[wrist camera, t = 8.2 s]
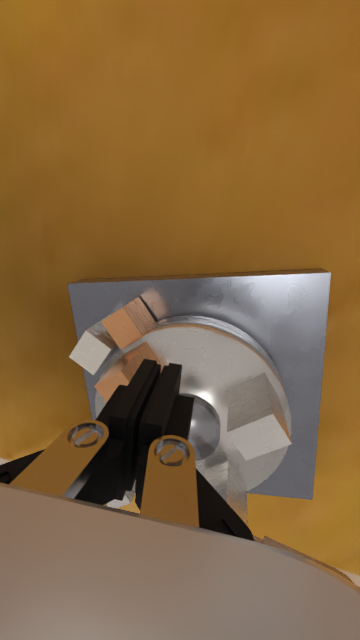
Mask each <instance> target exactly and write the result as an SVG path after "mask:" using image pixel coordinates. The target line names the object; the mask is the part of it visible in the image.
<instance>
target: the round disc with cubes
mask: <svg viewBox="0 0 360 640" xmlns="http://www.w3.org/2000/svg"><path fill="white" fill-rule="evenodd" d="M101 323H102V324H103V325H104V327H105V328H106V330H107V331H108V332H109V334H110V335H111V337H112V338H113V340H114V341H115V342H116V344H117V345H118V347H119V348H120V349H121V350H120V351H119V352H118V353H117V354H116V355H115V356H114V357H113V358H112V359H111V360H110V362H109V363H108V364H107V366H106V367H105V369H104V371H103V373H102V375H101V377H100V380H99V381H98V382H97V383H96V385H95V386H94V387H95V388H96V389H97V391H96V398H95V409H96V418H97V417H98V415H99V414H100V412H101V411H102V409H103V408H104V406H105V405H106V403H107V402H108V400H109V399H110V397H111V396H112V394H113V393H114V391H115V390H116V388H117V387H118V386H119V385H126V386H127V385H128V384H129V382H130V381H131V379H132V377H133V376H134V374H135V372H136V371H137V369H138V368H139V366H140V364H141V363H142V361H143V359H150V360H156V361H157V364H160V365H161V371H162V369H163V367H164V365H166V366H168V365H169V363H175V364H181V365H182V373H181V382H180V390H179V395H183V396H189V397H194V406H193V413H192V420H191V427H190V433H189V439H188V442H189V443H190V444H191V445H192V447H193V448H194V452H195V465H196V468H197V470H198V471H199V472H200V473H201V474H202V475H203V476H204V477H205V479H206V480H207V481H208V482H209V483H210V484H211V485H212V486H213V488H214V489H215V490H216V491H217V492H218V493H219V494H220V495H221V497H222V498H223V499H224V500H225V501H226V502H227V503H228V504H229V506H230V507H231V508H232V509H233V510H234V511H235V512H236V513H237V515H238V516H239V517H240V518H241V519H242V520H243V521H244V522H245V524H246V525H247V527H248V519H247V493H246V492H247V491H249V490H251V489H253V488H254V487H256V486H258V485H259V484H261V483H262V482H263V481H265V480H266V479H267V478H268V477H269V476H270V475H271V474H272V473H273V472H274V471H275V470H276V469H277V467H278V466H279V464H280V463H281V461H282V460H283V458H284V456H285V454H286V451H287V448H288V445H290V444H292V442H291V438H290V436H291V415H290V409H289V405H288V401H287V398H286V395H285V391H284V388H283V385H282V381H281V378H280V376H279V373H278V370H277V368H276V366H275V364H274V362H273V360H272V359H271V358H270V356H269V355H268V353H267V352H266V351H265V350H264V348H263V347H262V346H261V345H260V344H259V343H258V342H257V341H256V340H254V339H253V338H252V337H251V336H249V335H248V334H247V333H245V332H244V331H242V330H240V329H239V328H237V327H235V326H233V325H231V324H229V323H226V322H224V321H220V320H217V319H214V318H209V317H204V316H191V315H187V316H176V317H171V318H166V319H163V320H160V321H157V322H155V320H154V319H153V317H152V316H151V314H150V313H149V311H148V310H147V308H146V307H145V305H144V304H143V302H142V301H141V299H140V298H139V297H137V298H136V299H134V300H133V301H131V302H130V303H128V304H127V305H125V306H124V307H122V308H121V309H119V310H118V311H116V312H115V313H113V314H112V315H110V316H109V317H107V318H106V319H104V320H103V321H101ZM160 374H161V373H160ZM135 483H136V480H135V482H134V485H133V488H132V490H131V491H126V492H125V495H124V498H123V500H122V501H120V500H116V499H114V500H112V501H110V502H108V503H107V506H108V507H112V508H118V507H121V506H123V505H126V504H129V503H131V501H132V498H133V496H134V493H135Z"/></svg>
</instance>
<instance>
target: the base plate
mask: <svg viewBox="0 0 360 640" xmlns="http://www.w3.org/2000/svg"><path fill="white" fill-rule="evenodd" d="M330 277H331V273H330V272H328V271H326V270H323V269H305V270H283V271H260V272H238V273H216V274H193V275H171V276H148V277H126V278H103V279H81V280H78V281H75V282H71V283H68V284H67V285H68V290H69V295H70V301H71V306H72V312H73V317H74V323H75V328H76V333H77V339H78V343H77V345H76V346H75V348H74V350H73V351H72V353H71V354H70V356H69V358H71V359H72V360H73V361H75V362H76V363H78V364H79V365H80V366H82V367H83V371H84V377H85V382H86V388H87V393H88V399H89V404H90V410H91V415H92V420H96V409H95V398H96V391H97V389H96V388H95V387H94V386H95V385H96V383H97V382H98V381H99V380H100V377H101V375H102V373H103V371H104V369H105V367H106V366H107V364H108V363H109V362H110V360H111V359H112V358H113V357H114V356H115V355H116V354H117V353H118V352H119V351H120V350H121V349H120V348H119V347H118V345H117V344H116V342H115V341H114V340H113V338H112V337H111V335H110V334H109V332H108V331H107V330H106V328H105V327H104V325H103V324H102V323H101V321H103V320H104V319H106V318H107V317H109V316H110V315H112V314H113V313H115V312H116V311H118V310H119V309H121V308H122V307H124V306H125V305H127V304H128V303H130V302H131V301H133V300H134V299H136V298H137V297H139V298H140V299H141V301H142V302H143V304H144V305H145V307H146V308H147V310H148V311H149V313H150V314H151V316H152V317H153V319H154V320H155V322H157V321H160V320H163V319H166V318H171V317H176V316H187V315H191V316H204V317H209V318H214V319H217V320H220V321H224V322H226V323H229V324H231V325H233V326H235V327H237V328H239V329H240V330H242V331H244V332H245V333H247V334H248V335H249V336H251V337H252V338H253V339H254V340H256V341H257V342H258V343H259V344H260V345H261V346H262V347H263V348H264V350H265V351H266V352H267V353H268V355H269V356H270V358H271V359H272V360H273V362H274V364H275V366H276V368H277V370H278V373H279V376H280V378H281V381H282V385H283V388H284V391H285V395H286V398H287V401H288V405H289V409H290V415H291V436H290V438H291V442H292V444H290V445H288V448H287V451H286V454H285V456H284V458H283V460H282V461H281V463H280V464H279V466H278V467H277V469H276V470H275V471H274V472H273V473H272V474H271V475H270V476H269V477H268V478H267V479H266V480H265V481H263V482H262V483H261V484H259V485H258V486H256V487H254V488H253V489H251V490H249V491H247V492H246V493H253V494H263V495H272V496H281V497H291V498H300V499H309V500H312V498H313V485H314V473H315V461H316V449H317V436H318V424H319V412H320V400H321V387H322V375H323V363H324V351H325V338H326V326H327V314H328V302H329V289H330Z"/></svg>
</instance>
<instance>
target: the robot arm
mask: <svg viewBox="0 0 360 640" xmlns="http://www.w3.org/2000/svg"><path fill="white" fill-rule="evenodd" d="M160 373H161V374H160ZM181 373H182V365H181V364H175V363H169V365H168V366H166V365H164V367H163V369H162V371H161V365H160V364H157V361H156V360H150V359H143V361H142V363H141V364H140V366H139V368H138V369H137V371H136V372H135V374H134V376H133V377H132V379H131V381H130V382H129V384H128V385H127V386H126V385H119V386H118V387H117V388H116V390H115V391H114V393H113V394H112V396H111V397H110V399H109V400H108V402H107V403H106V405H105V406H104V408H103V409H102V411H101V412H100V414H99V415H98V417H97V418H96V420H83V421H79V422H77V423H74V424H72V425H71V426H70V427H68V428H67V429H66V430H65V431H64V432H63V433H62V434H61V435H60V436H59V437H58V438H57V439H56V440H54V441H53V442H52V443H51V444H50V445H49V446H48V447H47V448H46V449H44V450H41V451H39V452H36V453H33V454H30V455H27V456H25V457H22V458H19V459H16V460H13V461H11V462H8V463H5V464H3V465H0V640H360V587H359V586H357V585H355V584H354V583H353V582H352V581H351V580H350V579H349V578H348V577H347V576H346V575H345V574H343V573H342V572H340V571H339V570H337V569H335V568H333V567H331V566H329V565H327V564H325V563H322V562H320V561H318V560H316V559H314V558H312V557H309V556H307V555H305V554H303V553H301V552H299V551H296V550H294V549H292V548H290V547H288V546H286V545H283V544H281V543H279V542H277V541H275V540H272V539H270V538H268V537H266V536H264V538H263V540H262V539H260V538H258V537H256V536H253V535H252V533H251V531H250V529H249V528H248V527H247V525H246V524H245V522H244V521H243V520H242V519H241V518H240V517H239V516H238V515H237V513H236V512H235V511H234V510H233V509H232V508H231V507H230V506H229V504H228V503H227V502H226V501H225V500H224V499H223V498H222V497H221V495H220V494H219V493H218V492H217V491H216V490H215V489H214V488H213V486H212V485H211V484H210V483H209V482H208V481H207V480H206V479H205V477H204V476H203V475H202V474H201V473H200V472H199V471H198V470H197V468H196V465H195V452H194V448H193V447H192V445H191V444H190V443H189V442H188V439H189V433H190V427H191V420H192V413H193V406H194V397H189V396H183V395H179V390H180V382H181ZM135 480H136V483H135V493H136V499H135V503H136V504H137V506H138V508H139V509H140V514H138V513H134V512H129V511H125V510H120V509H116V508H112V507H108V506H107V503H108V502H110V501H112V500H114V499H116V500H120V501H122V500H123V498H124V495H125V492H126V491H131V490H132V488H133V485H134V482H135Z"/></svg>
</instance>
